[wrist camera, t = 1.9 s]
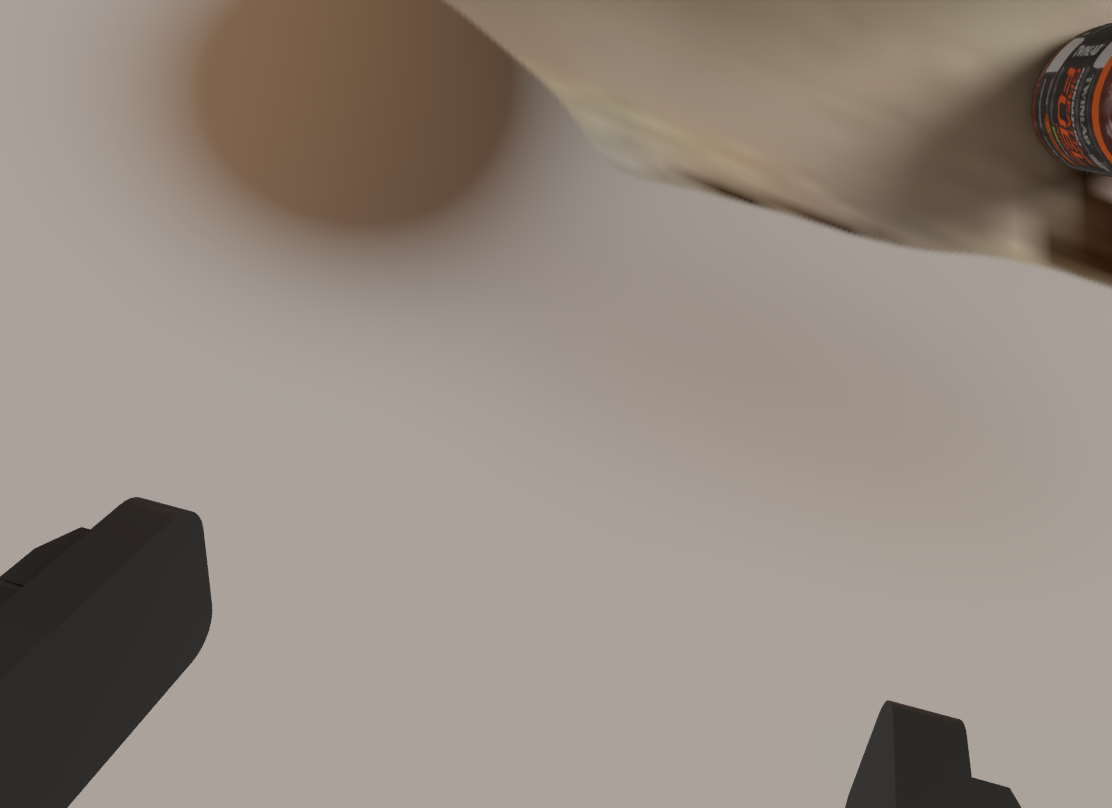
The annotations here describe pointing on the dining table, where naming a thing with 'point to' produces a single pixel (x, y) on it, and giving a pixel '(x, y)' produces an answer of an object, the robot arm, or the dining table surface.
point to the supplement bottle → (1078, 102)
